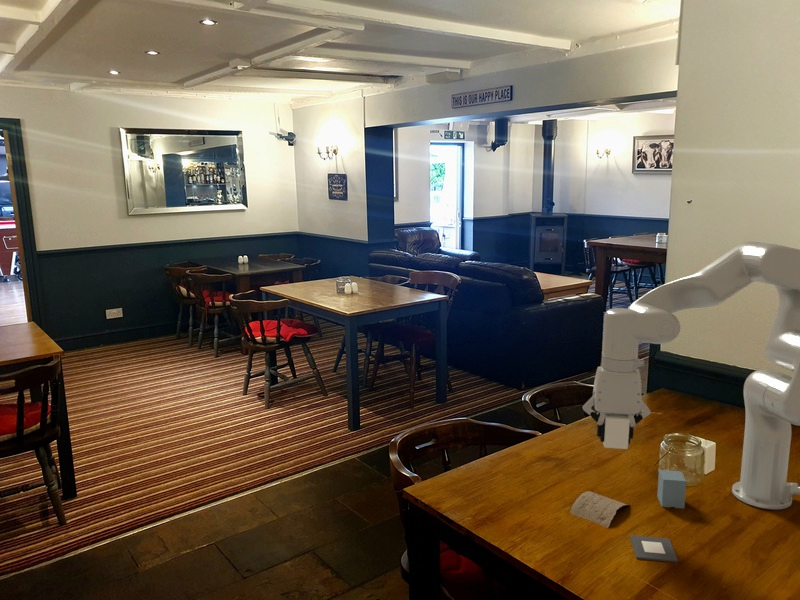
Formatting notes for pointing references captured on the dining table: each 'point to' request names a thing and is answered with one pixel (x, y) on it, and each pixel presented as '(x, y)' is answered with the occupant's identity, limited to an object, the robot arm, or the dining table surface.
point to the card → (653, 548)
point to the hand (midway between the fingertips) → (614, 439)
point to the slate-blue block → (671, 489)
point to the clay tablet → (595, 508)
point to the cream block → (616, 431)
